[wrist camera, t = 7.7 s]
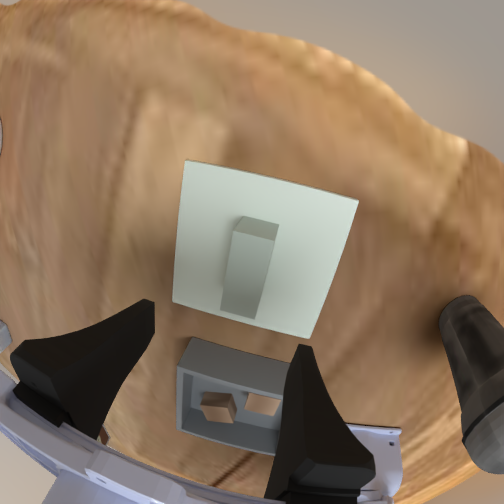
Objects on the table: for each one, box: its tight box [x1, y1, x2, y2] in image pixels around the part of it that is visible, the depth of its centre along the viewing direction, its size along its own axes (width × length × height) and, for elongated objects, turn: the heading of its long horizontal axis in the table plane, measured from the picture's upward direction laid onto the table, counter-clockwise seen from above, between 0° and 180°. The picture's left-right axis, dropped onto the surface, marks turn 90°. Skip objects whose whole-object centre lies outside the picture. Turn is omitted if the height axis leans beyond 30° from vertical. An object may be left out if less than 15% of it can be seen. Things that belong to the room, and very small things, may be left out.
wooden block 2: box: [244, 392, 281, 416], centre depth 26 cm, size 3×3×2 cm
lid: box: [172, 159, 359, 339], centre depth 21 cm, size 12×12×4 cm
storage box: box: [176, 337, 290, 456], centre depth 27 cm, size 12×12×4 cm
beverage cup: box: [439, 295, 504, 474], centre depth 12 cm, size 7×7×20 cm
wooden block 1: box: [200, 391, 237, 423], centre depth 28 cm, size 3×3×2 cm
